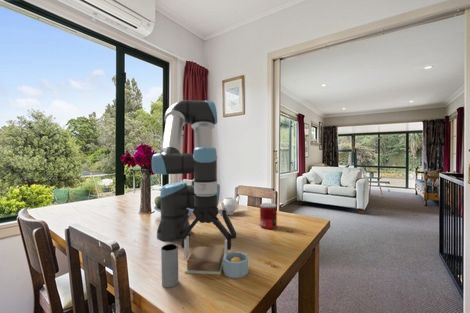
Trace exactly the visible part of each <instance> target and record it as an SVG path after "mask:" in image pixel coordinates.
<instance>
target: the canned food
mask: <svg viewBox="0 0 470 313" xmlns="http://www.w3.org/2000/svg"><path fill="white" fill-rule="evenodd" d="M259 205H260V206H259V215H260V216H259V219H260V220H259V222H260V228H261V229H264V230H274V229H277V225H278V224H277V222H278V220H277V217H278V216H277V204H276V203H275V204H274V203H270V202H269V203H267V202H266V203H265V202H264V203H260V204H259Z"/></svg>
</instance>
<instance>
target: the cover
mask: <svg viewBox="0 0 470 313" xmlns="http://www.w3.org/2000/svg"><path fill="white" fill-rule="evenodd" d="M224 255H225V247H213V246H212V247H211V246H195V248H194V249H193V251H192V253H191V254H189V256H188V258H187V259H186V269H187V270H195V271H218V272H219V270H220V267H221V264H222V261H223V258H224Z"/></svg>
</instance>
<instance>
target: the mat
mask: <svg viewBox="0 0 470 313" xmlns="http://www.w3.org/2000/svg"><path fill="white" fill-rule="evenodd" d="M222 270H223V261H222V264H221V267H220V270H219V272H218V271H195V270H187V268H186V269H185V272H184V273H185V274H202V275H221V274H222Z"/></svg>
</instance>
